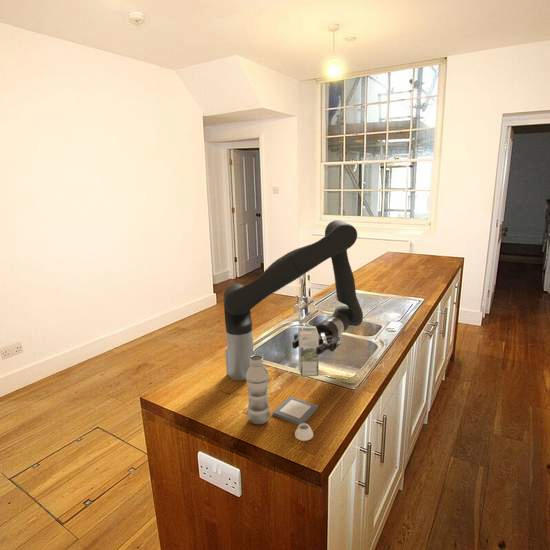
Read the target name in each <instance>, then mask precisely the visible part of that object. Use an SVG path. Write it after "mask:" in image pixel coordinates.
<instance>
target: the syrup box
mask: <svg viewBox="0 0 550 550" xmlns="http://www.w3.org/2000/svg"><path fill="white" fill-rule="evenodd" d="M297 331H298V332H297V333H298V343H299V346H298V369H299V370H298V371H299V375H300V377H302V378H304V377H318V376H319V373H320V372H319V371H320V370H319V356H320V354H319V355H318V354H317V347H318V346H320V345H319V335H318V332H317V329H316V326H308V327H307V326H306V327H305V326H304V327H298V330H297Z"/></svg>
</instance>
